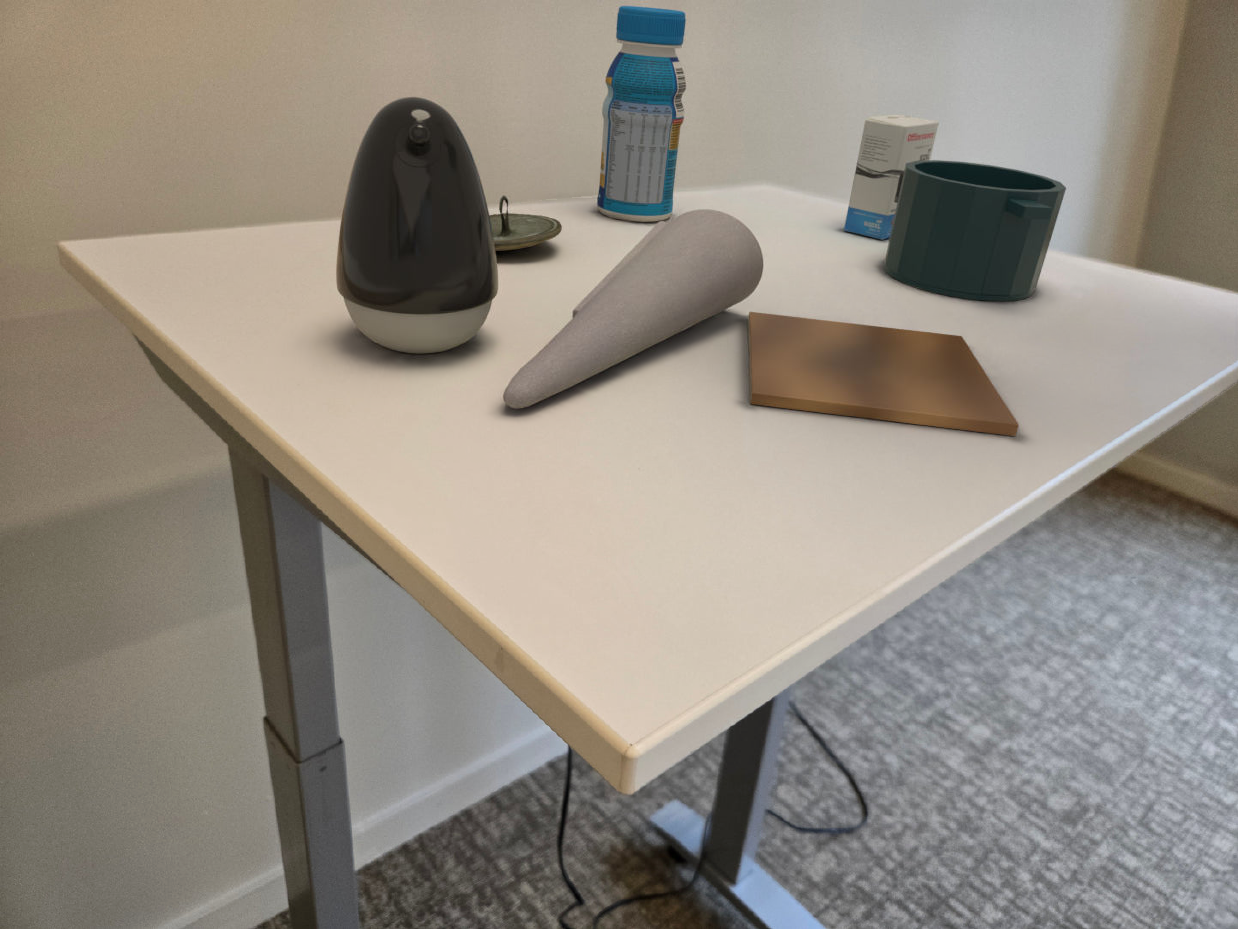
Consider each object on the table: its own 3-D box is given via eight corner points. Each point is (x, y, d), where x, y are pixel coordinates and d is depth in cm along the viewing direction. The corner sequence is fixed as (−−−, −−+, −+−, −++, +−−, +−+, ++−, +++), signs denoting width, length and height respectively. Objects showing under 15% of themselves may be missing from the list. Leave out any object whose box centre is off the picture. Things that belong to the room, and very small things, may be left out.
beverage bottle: (621, 225, 94) (639, 8, 85) (581, 206, 101) (593, 2, 91) (688, 221, 99) (712, 14, 89) (645, 203, 105) (664, 8, 95)
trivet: (959, 345, 70) (962, 335, 69) (1015, 436, 55) (1019, 424, 55) (747, 321, 71) (749, 311, 70) (750, 404, 56) (752, 392, 56)
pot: (974, 253, 96) (999, 159, 92) (1080, 313, 80) (1117, 202, 75) (852, 248, 94) (871, 151, 90) (935, 308, 78) (963, 194, 73)
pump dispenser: (337, 371, 56) (320, 104, 49) (342, 314, 65) (328, 81, 57) (506, 369, 58) (512, 115, 51) (488, 314, 67) (492, 91, 60)
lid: (574, 275, 83) (588, 219, 81) (477, 256, 76) (491, 195, 75) (517, 249, 90) (529, 198, 89) (424, 230, 84) (436, 175, 83)
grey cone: (639, 372, 48) (770, 220, 67) (491, 335, 50) (660, 199, 70) (630, 493, 52) (756, 316, 72) (495, 453, 54) (652, 293, 74)
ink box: (882, 241, 98) (907, 124, 92) (841, 230, 101) (863, 117, 95) (916, 230, 104) (941, 120, 98) (876, 221, 107) (899, 113, 101)
